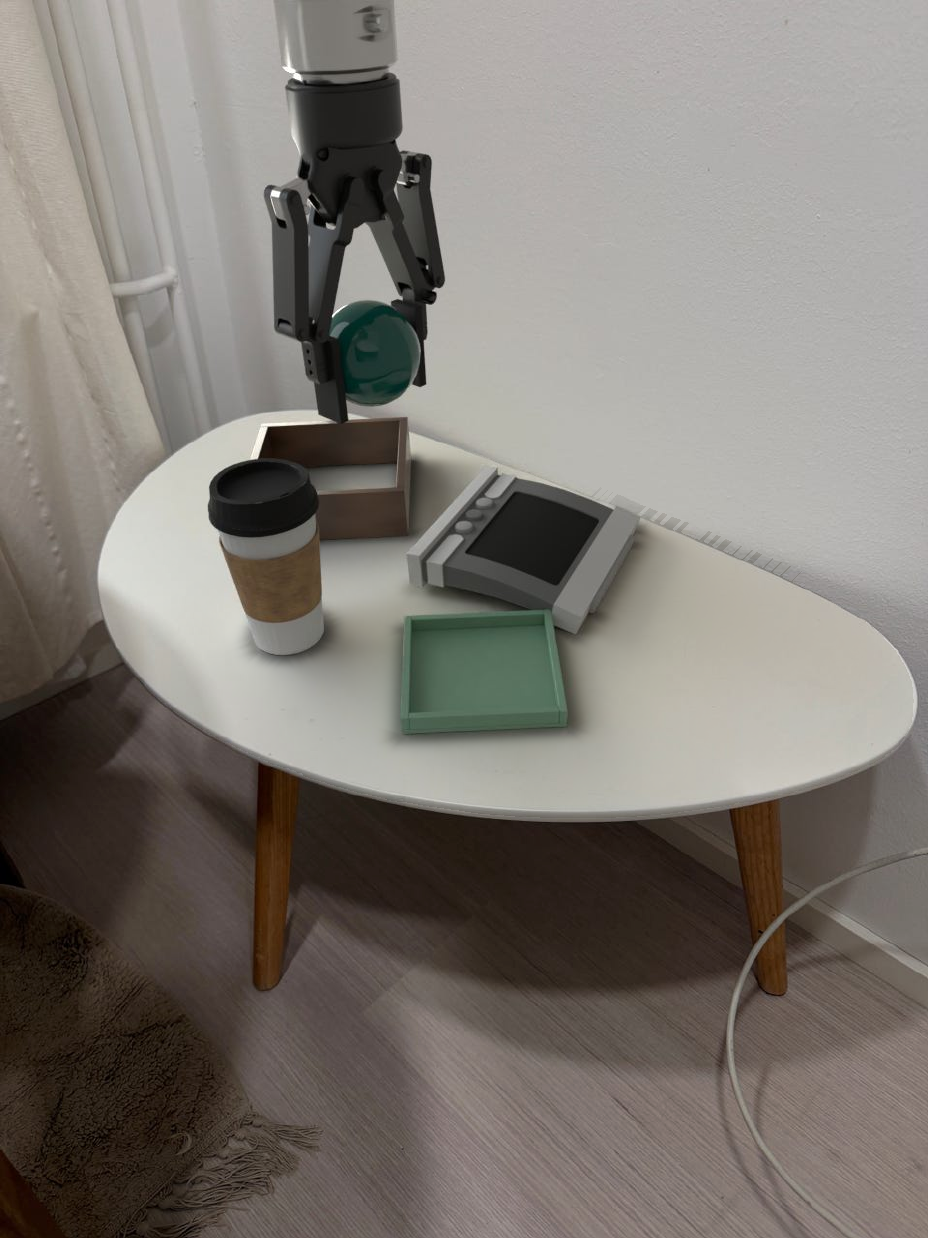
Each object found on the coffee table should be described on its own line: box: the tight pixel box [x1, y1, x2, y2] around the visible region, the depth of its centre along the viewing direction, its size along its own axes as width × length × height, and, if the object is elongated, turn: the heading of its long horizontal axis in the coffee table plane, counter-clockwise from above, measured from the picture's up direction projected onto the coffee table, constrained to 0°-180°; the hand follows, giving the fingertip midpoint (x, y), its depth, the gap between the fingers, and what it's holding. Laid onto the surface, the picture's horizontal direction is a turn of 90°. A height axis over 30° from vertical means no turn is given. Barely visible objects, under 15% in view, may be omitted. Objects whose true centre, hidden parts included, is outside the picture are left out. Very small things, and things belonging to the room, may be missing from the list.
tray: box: [400, 609, 569, 735], centre depth 72 cm, size 12×12×2 cm
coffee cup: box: [207, 458, 325, 656], centre depth 73 cm, size 8×8×15 cm
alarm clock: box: [406, 465, 641, 635], centre depth 84 cm, size 17×5×16 cm
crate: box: [249, 416, 412, 541], centre depth 94 cm, size 16×16×5 cm
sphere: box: [329, 299, 421, 407], centre depth 72 cm, size 8×8×8 cm
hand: (373, 398), depth 74 cm, fingers closed on sphere, 8 cm apart
